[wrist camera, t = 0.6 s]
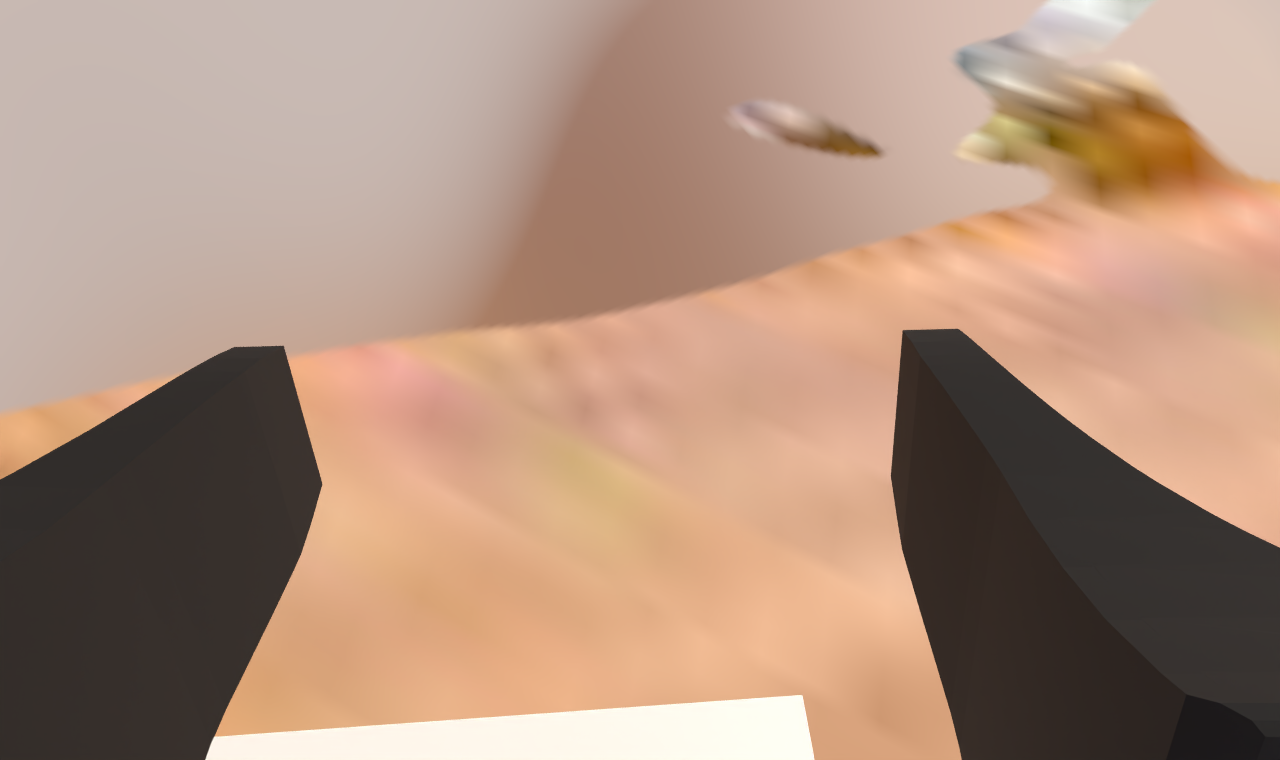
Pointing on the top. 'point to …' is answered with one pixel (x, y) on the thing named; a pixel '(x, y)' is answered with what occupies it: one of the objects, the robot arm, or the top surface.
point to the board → (557, 736)
